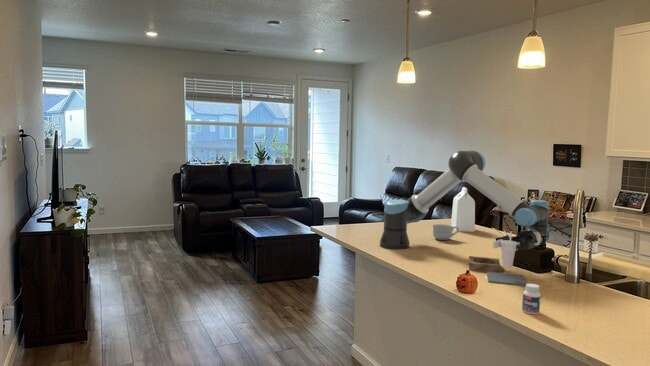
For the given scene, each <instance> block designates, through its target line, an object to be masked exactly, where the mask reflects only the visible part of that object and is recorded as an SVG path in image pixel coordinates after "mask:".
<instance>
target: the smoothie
mask: <svg viewBox="0 0 650 366" xmlns="http://www.w3.org/2000/svg"><path fill="white" fill-rule="evenodd" d="M509 236H510V240H502V241H500V244H501V247H500V250H501V261H502V266H503V267H507V268H512V267H513V265H514V258H515V253H516V251H513V252H510V245H511V244H514V243H517V242H515V241H511V237H512V230H511V231H509Z"/></svg>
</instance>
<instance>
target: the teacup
mask: <svg viewBox="0 0 650 366" xmlns="http://www.w3.org/2000/svg"><path fill="white" fill-rule="evenodd" d="M454 228H456V229H457V231H455V232H453V231H454ZM459 232H460V231H459V229H458V227H456V226H454V227H453V226H451V224H441V223H440V224H432V236H433V237H434V238H435V239H436V240H440V241H449V240H450V238H452V237H453V236H455V235H457V234H458V233H459Z"/></svg>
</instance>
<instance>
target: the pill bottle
mask: <svg viewBox="0 0 650 366" xmlns="http://www.w3.org/2000/svg"><path fill="white" fill-rule="evenodd" d="M539 291H540V286H539V285H538V284H536V283H526V286H525V290H524V291H523V292H522V301H521V302H522V303H521V311H522V312H523V313H525V314H528V315H538V314H539V313H540V308H541V306H540V305H541V293H540V292H539Z"/></svg>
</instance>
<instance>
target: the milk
mask: <svg viewBox="0 0 650 366" xmlns="http://www.w3.org/2000/svg"><path fill="white" fill-rule="evenodd" d="M450 220H451V221H450V225H451V226H453V227H454V226H456V227H458V229H459V231H458V232H475V231H476V224H475V223H476V201H475V199H474V198H473V197H472V196H471V195H470V194H469V193H468V188H467V187H465V186H463V187H462V188H461V191H460V192H459V193H457V194H456V195H455V196H454V197H453V200H452V209H451V219H450ZM453 231H455V232H456V231H457V229H456V228H454V229H453Z"/></svg>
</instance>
